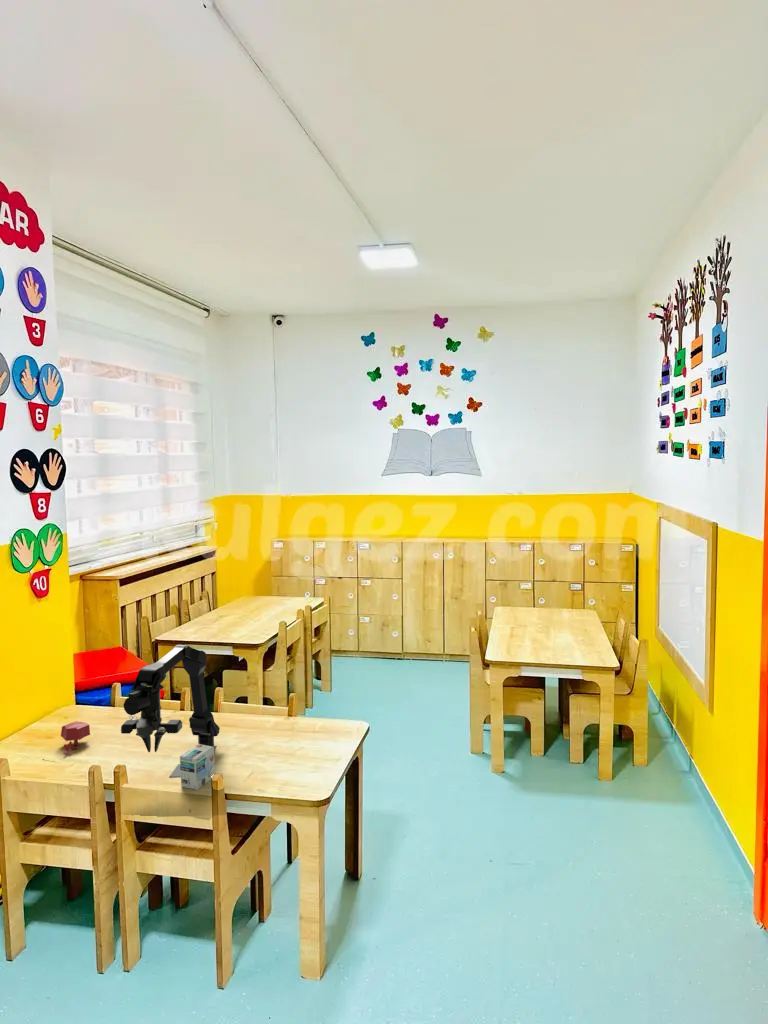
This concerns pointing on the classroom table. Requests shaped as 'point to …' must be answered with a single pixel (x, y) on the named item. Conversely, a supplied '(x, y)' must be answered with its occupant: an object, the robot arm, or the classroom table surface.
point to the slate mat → (176, 772)
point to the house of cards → (133, 717)
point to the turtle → (74, 733)
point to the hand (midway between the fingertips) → (152, 751)
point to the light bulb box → (197, 766)
